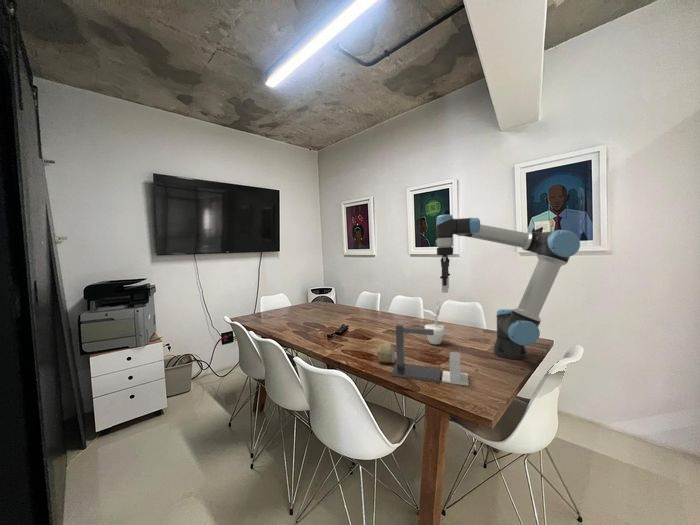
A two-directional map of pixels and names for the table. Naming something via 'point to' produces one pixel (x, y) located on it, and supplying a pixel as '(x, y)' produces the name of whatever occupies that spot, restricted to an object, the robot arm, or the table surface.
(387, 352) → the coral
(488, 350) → the table surface
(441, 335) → the potted plant
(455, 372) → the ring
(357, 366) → the table surface
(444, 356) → the table surface
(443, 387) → the table surface
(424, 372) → the stand
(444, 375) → the pad
